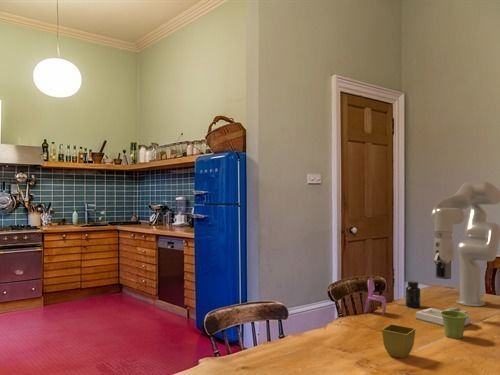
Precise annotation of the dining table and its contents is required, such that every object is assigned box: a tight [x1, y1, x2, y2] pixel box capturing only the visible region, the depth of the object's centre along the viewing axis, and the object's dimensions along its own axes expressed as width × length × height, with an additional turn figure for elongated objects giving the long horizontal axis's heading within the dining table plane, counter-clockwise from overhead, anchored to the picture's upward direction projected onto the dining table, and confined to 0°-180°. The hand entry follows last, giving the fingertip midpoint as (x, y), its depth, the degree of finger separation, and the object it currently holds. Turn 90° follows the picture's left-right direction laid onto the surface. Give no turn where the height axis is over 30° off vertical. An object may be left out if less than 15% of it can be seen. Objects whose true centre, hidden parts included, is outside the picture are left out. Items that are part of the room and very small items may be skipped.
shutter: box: [441, 306, 468, 318], centre depth 181 cm, size 7×7×4 cm
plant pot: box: [440, 311, 468, 340], centre depth 166 cm, size 9×9×9 cm
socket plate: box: [415, 307, 472, 327], centre depth 185 cm, size 12×18×4 cm, turn 36°
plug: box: [435, 260, 452, 280], centre depth 194 cm, size 4×5×8 cm
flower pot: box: [381, 323, 416, 359], centre depth 146 cm, size 9×9×9 cm
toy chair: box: [363, 279, 387, 316], centre depth 199 cm, size 8×9×15 cm
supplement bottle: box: [405, 280, 421, 309], centre depth 210 cm, size 7×7×12 cm
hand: (443, 275), depth 194 cm, fingers closed on plug, 4 cm apart
